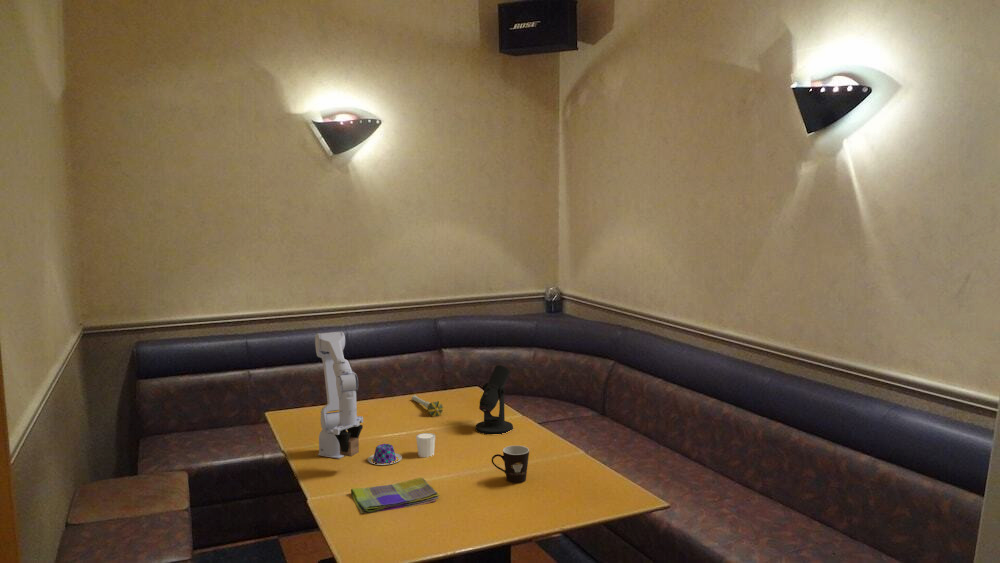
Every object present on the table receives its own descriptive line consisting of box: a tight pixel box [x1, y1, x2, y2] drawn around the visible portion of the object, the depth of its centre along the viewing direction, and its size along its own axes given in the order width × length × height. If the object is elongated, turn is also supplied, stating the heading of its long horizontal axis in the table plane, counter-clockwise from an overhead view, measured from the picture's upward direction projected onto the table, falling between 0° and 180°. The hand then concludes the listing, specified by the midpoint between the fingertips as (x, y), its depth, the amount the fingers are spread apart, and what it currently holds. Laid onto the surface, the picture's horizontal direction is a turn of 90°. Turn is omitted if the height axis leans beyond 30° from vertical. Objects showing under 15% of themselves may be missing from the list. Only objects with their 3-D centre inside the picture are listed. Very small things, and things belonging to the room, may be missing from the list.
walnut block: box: [340, 437, 360, 458], centre depth 244 cm, size 4×4×5 cm
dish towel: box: [350, 477, 441, 515], centre depth 224 cm, size 18×24×3 cm
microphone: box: [475, 364, 514, 435], centre depth 288 cm, size 15×17×25 cm
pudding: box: [367, 443, 403, 466], centre depth 256 cm, size 12×12×5 cm
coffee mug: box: [491, 445, 530, 484], centre depth 238 cm, size 12×9×10 cm
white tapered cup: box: [415, 432, 436, 458], centre depth 261 cm, size 7×7×7 cm
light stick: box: [411, 394, 445, 418], centre depth 317 cm, size 7×6×30 cm
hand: (349, 448), depth 245 cm, fingers closed on walnut block, 4 cm apart
